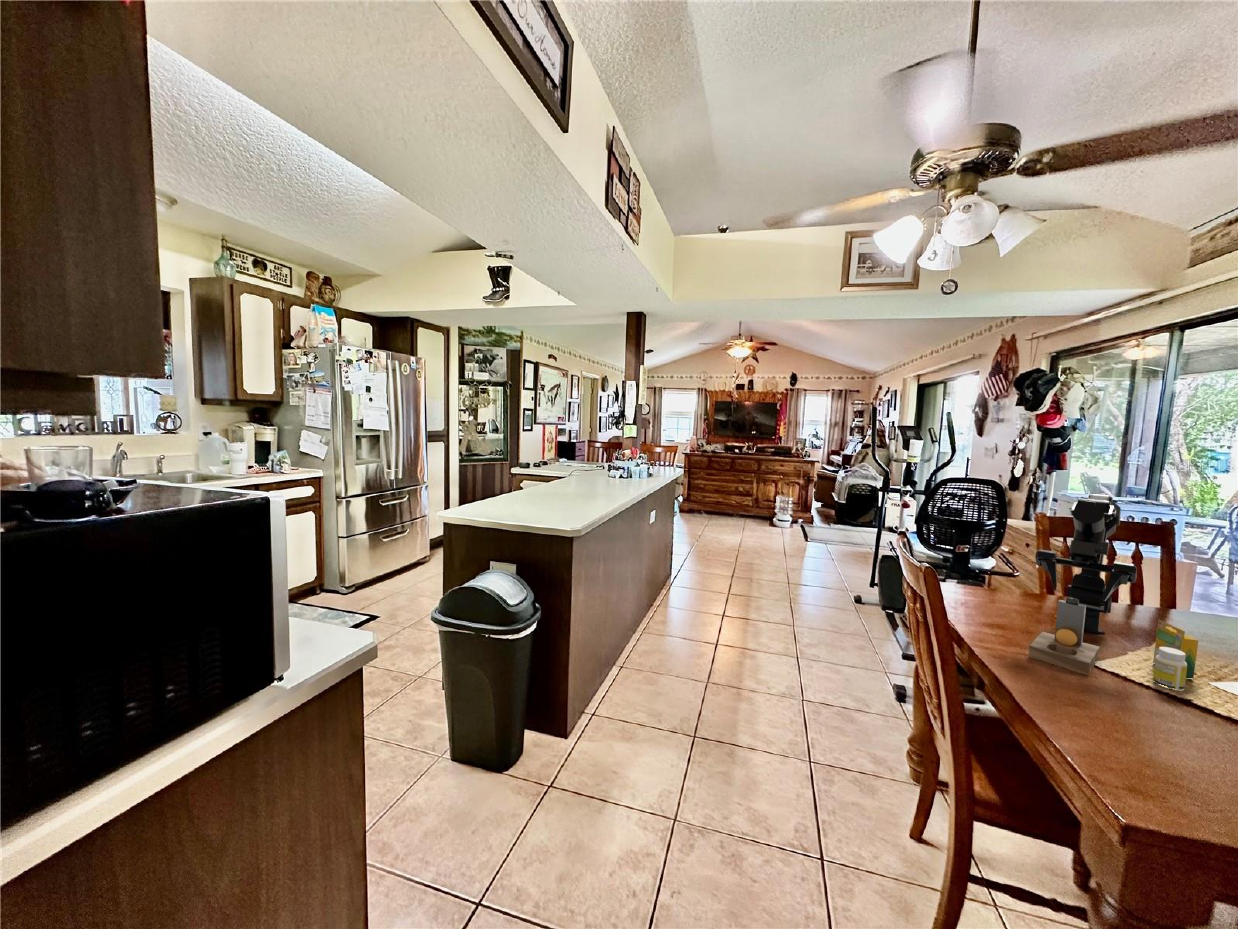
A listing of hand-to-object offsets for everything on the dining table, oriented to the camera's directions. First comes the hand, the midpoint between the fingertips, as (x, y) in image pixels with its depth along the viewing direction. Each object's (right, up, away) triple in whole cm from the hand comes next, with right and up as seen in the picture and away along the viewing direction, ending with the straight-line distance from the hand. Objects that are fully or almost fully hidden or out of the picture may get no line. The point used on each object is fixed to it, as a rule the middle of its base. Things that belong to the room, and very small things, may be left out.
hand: (1078, 595), depth 122 cm
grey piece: (-1, -12, +2) cm, 13 cm away
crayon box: (+16, -17, -7) cm, 24 cm away
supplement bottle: (+7, -17, -13) cm, 23 cm away
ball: (-3, -11, 0) cm, 11 cm away
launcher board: (-5, -16, -1) cm, 16 cm away
